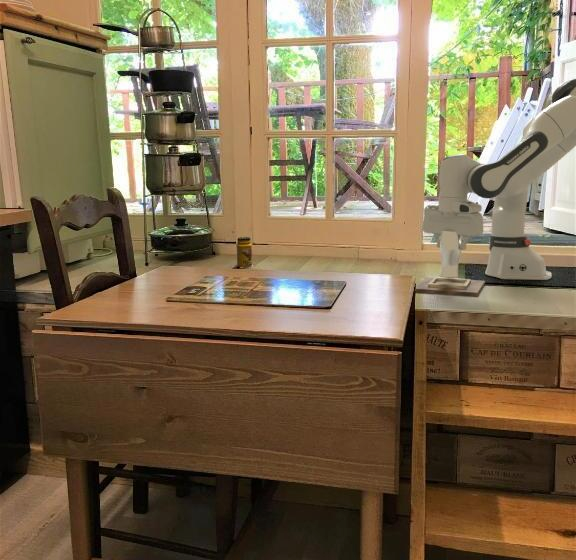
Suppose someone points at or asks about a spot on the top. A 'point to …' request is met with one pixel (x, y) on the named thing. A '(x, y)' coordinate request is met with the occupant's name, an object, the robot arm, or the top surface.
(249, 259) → the condiment
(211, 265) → the top surface
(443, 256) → the beer glass
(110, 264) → the top surface
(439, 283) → the walnut board
